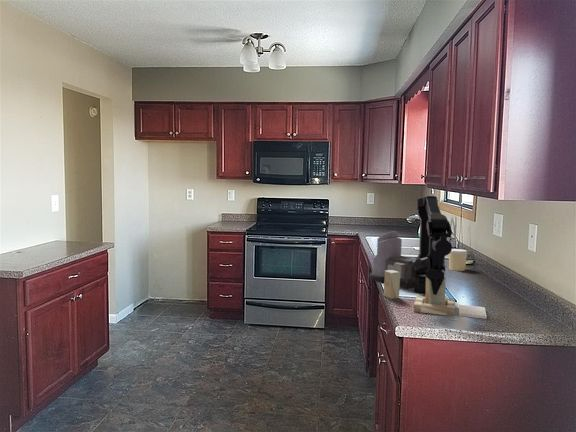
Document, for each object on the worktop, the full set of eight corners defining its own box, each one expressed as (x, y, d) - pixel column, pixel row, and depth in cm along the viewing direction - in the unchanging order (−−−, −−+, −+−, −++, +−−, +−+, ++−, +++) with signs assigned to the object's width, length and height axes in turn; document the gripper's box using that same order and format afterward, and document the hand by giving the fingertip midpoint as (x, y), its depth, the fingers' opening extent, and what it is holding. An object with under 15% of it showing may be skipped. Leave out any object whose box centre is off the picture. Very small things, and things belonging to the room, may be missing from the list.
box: (383, 296, 184) (384, 270, 183) (391, 295, 186) (392, 269, 185) (391, 299, 179) (391, 272, 179) (399, 298, 181) (400, 271, 180)
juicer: (361, 278, 220) (362, 229, 218) (386, 275, 227) (388, 228, 226) (402, 291, 194) (404, 235, 192) (430, 288, 201) (432, 234, 199)
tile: (458, 307, 170) (458, 304, 170) (484, 309, 167) (484, 307, 167) (458, 315, 159) (459, 313, 159) (486, 318, 156) (486, 316, 156)
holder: (416, 302, 176) (417, 295, 176) (454, 306, 171) (454, 299, 171) (413, 311, 163) (413, 304, 163) (454, 316, 158) (454, 309, 158)
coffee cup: (458, 270, 245) (459, 248, 244) (470, 273, 236) (471, 251, 235) (444, 271, 242) (444, 249, 241) (455, 274, 233) (456, 251, 233)
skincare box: (440, 307, 170) (442, 275, 169) (445, 310, 165) (446, 277, 164) (424, 307, 169) (425, 275, 169) (428, 310, 165) (429, 277, 164)
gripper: (416, 247, 177) (415, 285, 178) (412, 253, 160) (410, 296, 161) (446, 248, 173) (444, 288, 175) (445, 255, 156) (443, 299, 157)
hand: (435, 292), depth 167 cm, fingers closed on skincare box, 5 cm apart
